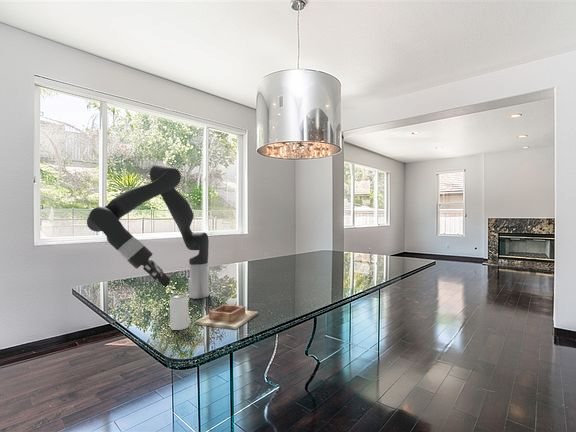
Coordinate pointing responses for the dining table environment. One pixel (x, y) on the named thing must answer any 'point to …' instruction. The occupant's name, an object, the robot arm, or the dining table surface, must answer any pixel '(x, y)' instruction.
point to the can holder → (227, 317)
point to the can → (179, 312)
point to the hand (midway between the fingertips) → (168, 283)
